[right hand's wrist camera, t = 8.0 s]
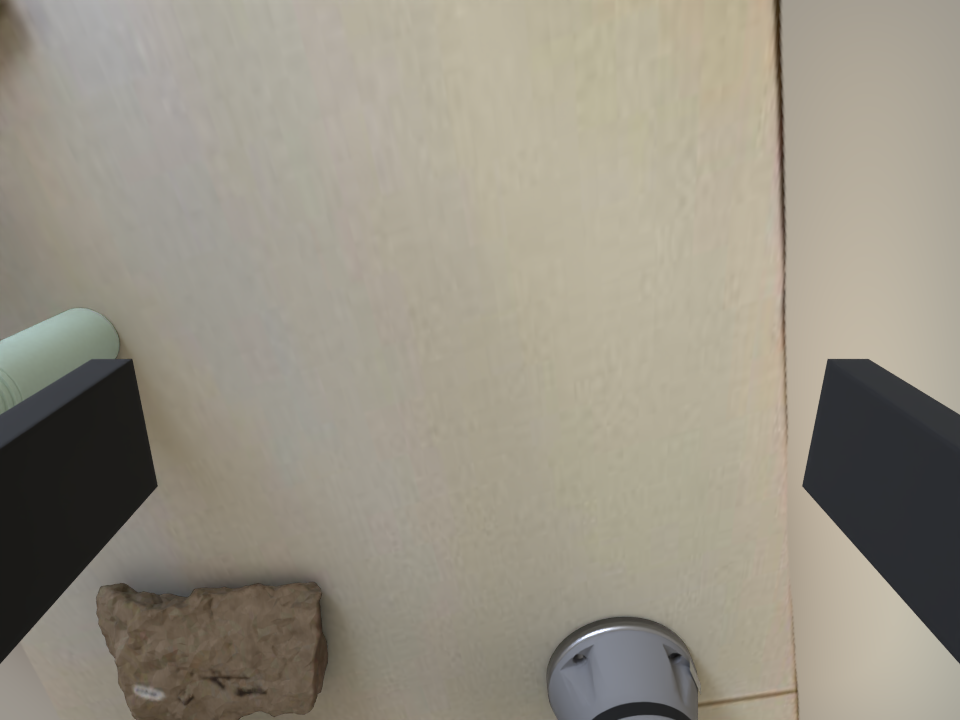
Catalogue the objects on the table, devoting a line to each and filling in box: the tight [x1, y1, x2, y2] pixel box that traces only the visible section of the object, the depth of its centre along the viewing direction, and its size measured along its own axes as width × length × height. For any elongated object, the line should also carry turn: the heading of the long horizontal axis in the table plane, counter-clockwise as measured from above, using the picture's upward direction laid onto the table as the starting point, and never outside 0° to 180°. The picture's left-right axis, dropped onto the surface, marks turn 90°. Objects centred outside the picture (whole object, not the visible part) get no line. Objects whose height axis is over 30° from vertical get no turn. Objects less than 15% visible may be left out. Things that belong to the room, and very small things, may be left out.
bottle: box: [0, 308, 119, 415], centre depth 47 cm, size 6×6×17 cm
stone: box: [96, 582, 328, 720], centre depth 63 cm, size 21×15×6 cm
